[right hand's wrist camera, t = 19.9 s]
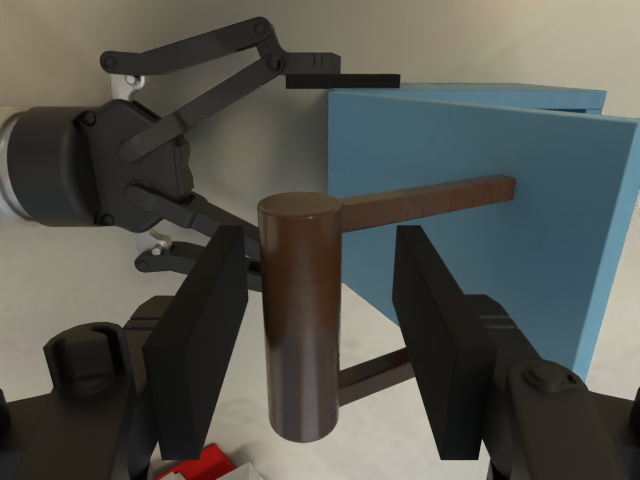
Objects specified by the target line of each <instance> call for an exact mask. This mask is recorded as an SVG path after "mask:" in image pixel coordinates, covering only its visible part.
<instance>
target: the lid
mask: <svg viewBox="0 0 640 480" xmlns="http://www.w3.org/2000/svg"><path fill="white" fill-rule="evenodd" d="M639 188H640V119H639V118H628V117H617V116H606V115H595V114H584V113H574V112H563V111H552V110H541V109H530V108H519V107H508V106H497V105H486V104H475V103H464V102H453V101H442V100H432V99H421V98H410V97H399V96H388V95H377V94H366V93H355V92H344V91H336V92H328V195H327V194H322V193H315V192H288V193H281V194H276V195H272V196H269V197H267V198H264V199H262V200H261V201H260V202H259V204H258V206H257V211H258V229H259V247H260V265H261V283H262V301H263V319H264V337H265V354H266V372H267V390H268V408H269V421H270V424H271V426H272V428H273V429H274V431H275V432H276V433H277V434H278V435H279V436H281V437H282V438H284V439H286V440H289V441H292V442H298V443H308V442H313V441H317V440H320V439H322V438H324V437H325V436H327V435H328V434H329V433H330V432H331V431H332V430H333V429H334V427H335V426H336V424H337V422H338V417H339V407H341V406H343V405H346V404H348V403H351V402H353V401H356V400H358V399H361V398H363V397H366V396H368V395H371V394H373V393H376V392H378V391H381V390H383V389H386V388H388V387H391V386H393V385H396V384H398V383H401V382H403V381H406V380H408V379H411V378H413V377H415V374H414V371H413V368H412V364H411V361H410V358H409V355H408V351H407V348H406V347H405V348H403V349H400V350H397V351H394V352H391V353H389V354H386V355H383V356H380V357H377V358H375V359H372V360H369V361H366V362H363V363H361V364H358V365H355V366H352V367H349V368H347V369H344V370H341V371H340V326H341V281H342V282H343V283H344V284H346V285H347V286H348V287H349V288H351V289H352V290H353V291H354V292H356V293H357V294H358V295H360V296H361V297H362V298H363V299H365V300H366V301H367V302H368V303H370V304H371V305H372V306H374V307H375V308H376V309H377V310H379V311H380V312H381V313H382V314H384V315H385V316H386V317H387V318H389V319H390V320H391V321H393V322H394V323H395V324H396V325H398V326H399V327H400V325H399V322H398V319H397V316H396V312H395V309H394V306H393V303H392V287H393V273H394V258H395V244H396V229H397V225H421V227H422V228H423V230H424V232H425V233H426V235H427V236H428V238H429V240H430V241H431V243H432V244H433V246H434V247H435V249H436V251H437V252H438V254H439V255H440V257H441V258H442V260H443V262H444V263H445V265H446V266H447V268H448V269H449V271H450V273H451V274H452V276H453V277H454V279H455V280H456V282H457V284H458V285H459V287H460V288H461V290H462V292H463V293H464V294H486V295H487V296H489V297H490V298H492V299H493V300H495V301H496V302H498V303H500V304H501V305H502V306H503V308H504V309H505V310H506V312H507V313H508V314H509V316H510V319H512V320H513V321H514V322H515V324H516V325H517V328H518V329H520V330H521V331H522V333H523V334H524V335H525V337H526V338H527V339H528V341H529V342H530V343H531V345H532V346H533V347H534V348H535V350H536V351H537V352H538V354H539V355H540V356H541V358H542V359H545V360H549V361H553V362H555V363H558V364H560V365H562V366H564V367H567V368H568V369H570V370H571V371H572V372H574V373H575V374H577V375H578V376H579V377H580V378H581V379H582V381H583V382H584V383H585V380H586V376H587V373H588V369H589V366H590V362H591V359H592V355H593V352H594V348H595V344H596V341H597V337H598V334H599V330H600V327H601V323H602V319H603V316H604V312H605V309H606V305H607V302H608V298H609V295H610V291H611V287H612V284H613V280H614V277H615V273H616V270H617V266H618V262H619V259H620V255H621V252H622V248H623V245H624V241H625V237H626V234H627V230H628V227H629V223H630V220H631V216H632V213H633V209H634V205H635V202H636V198H637V195H638V191H639Z"/></svg>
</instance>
